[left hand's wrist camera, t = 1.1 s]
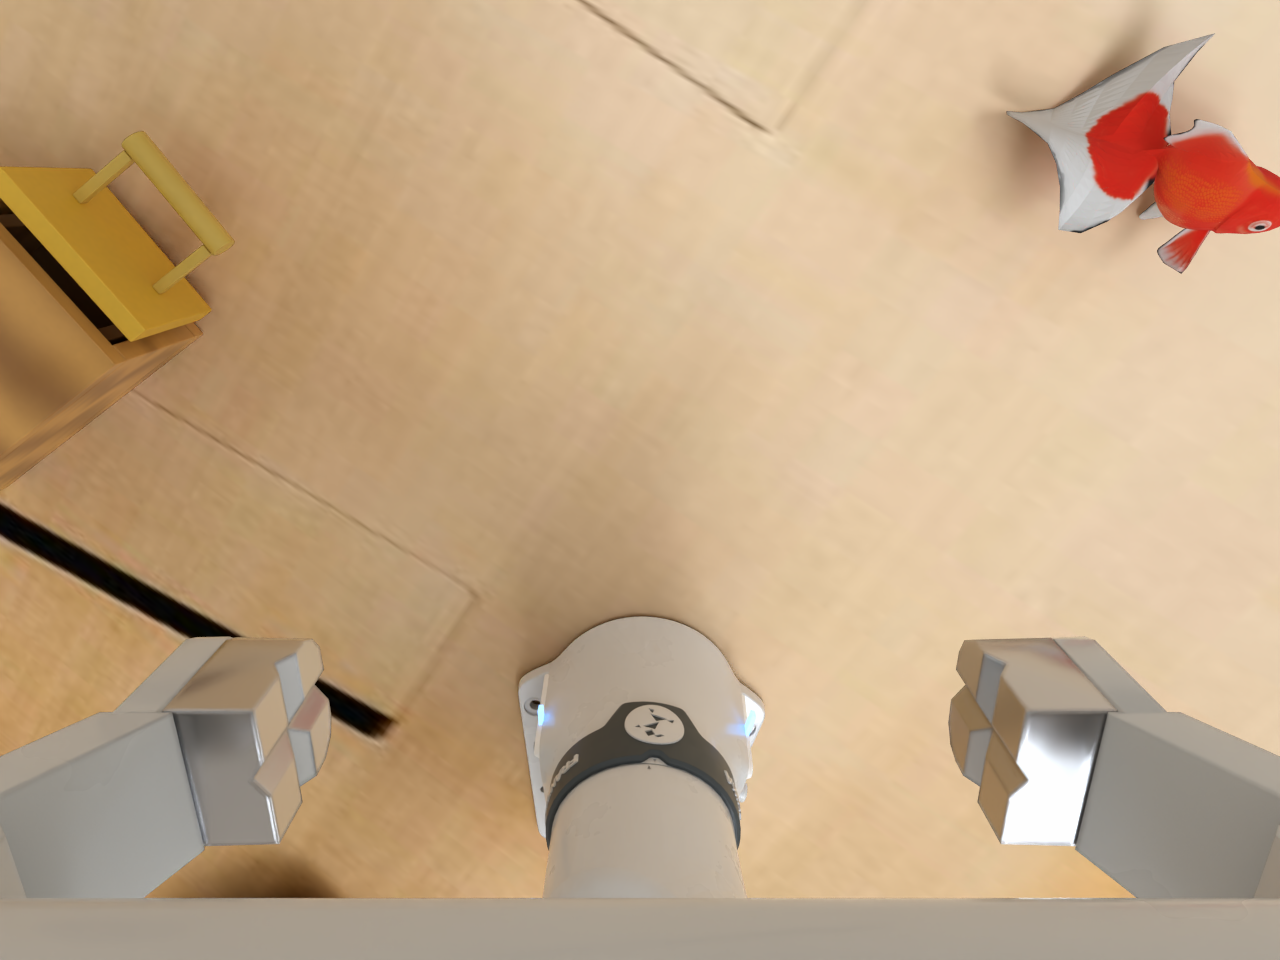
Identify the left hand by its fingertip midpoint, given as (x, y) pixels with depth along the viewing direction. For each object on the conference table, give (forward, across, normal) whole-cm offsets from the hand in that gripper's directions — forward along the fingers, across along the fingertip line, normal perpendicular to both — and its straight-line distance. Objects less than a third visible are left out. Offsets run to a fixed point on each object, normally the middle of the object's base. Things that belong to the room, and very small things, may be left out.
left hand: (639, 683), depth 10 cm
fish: (+44, +28, +7) cm, 52 cm away
